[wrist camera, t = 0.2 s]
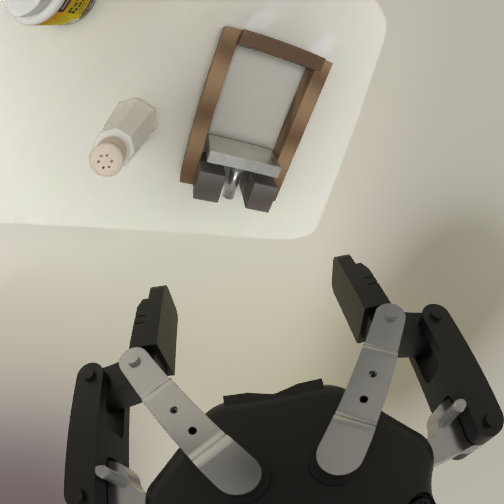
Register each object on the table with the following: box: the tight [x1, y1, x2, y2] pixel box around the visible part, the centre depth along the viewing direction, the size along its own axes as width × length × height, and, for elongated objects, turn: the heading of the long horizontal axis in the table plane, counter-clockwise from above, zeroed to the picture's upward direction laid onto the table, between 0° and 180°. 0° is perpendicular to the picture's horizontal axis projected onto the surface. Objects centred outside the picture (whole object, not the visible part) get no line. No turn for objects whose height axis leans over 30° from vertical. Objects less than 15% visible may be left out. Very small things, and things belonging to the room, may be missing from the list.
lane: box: [180, 26, 333, 212], centre depth 28 cm, size 17×11×6 cm, turn 161°
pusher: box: [206, 135, 282, 199], centre depth 31 cm, size 6×7×5 cm
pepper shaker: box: [89, 98, 156, 177], centre depth 24 cm, size 5×5×11 cm
